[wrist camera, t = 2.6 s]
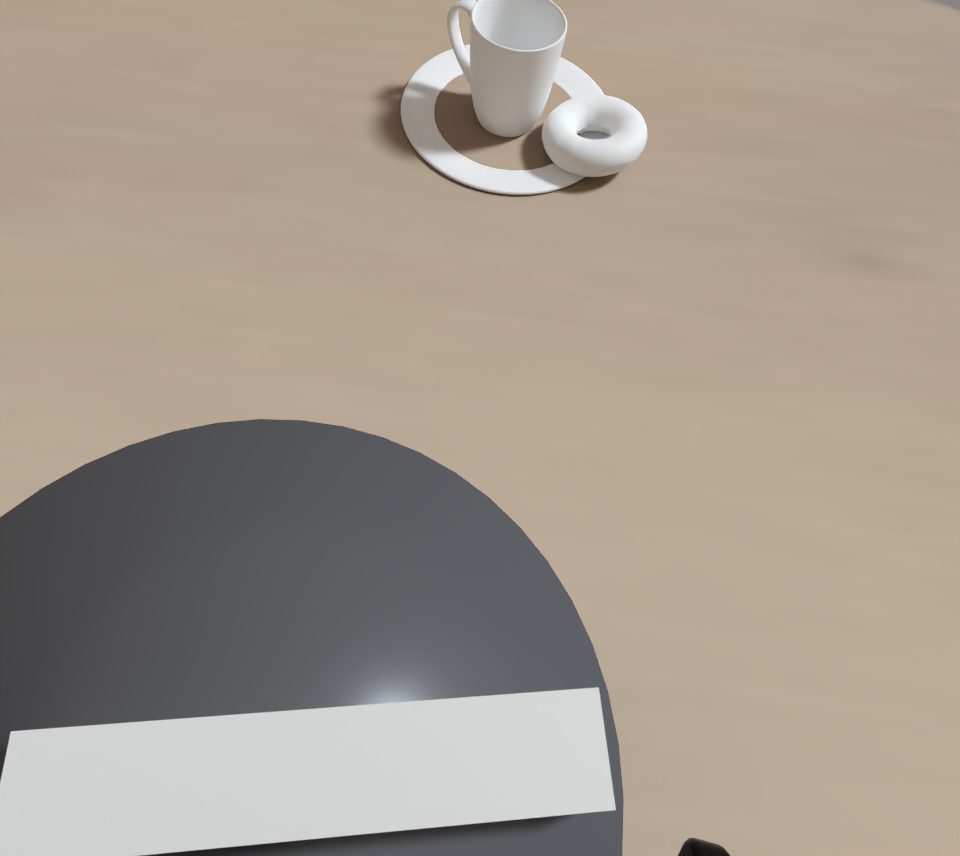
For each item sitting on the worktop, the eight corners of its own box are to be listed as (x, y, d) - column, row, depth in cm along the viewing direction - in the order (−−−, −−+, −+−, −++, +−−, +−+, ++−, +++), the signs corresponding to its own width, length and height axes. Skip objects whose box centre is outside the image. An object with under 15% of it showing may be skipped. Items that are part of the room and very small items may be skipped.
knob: (230, 909, 14) (-645, 1698, 2) (250, 630, 16) (-149, 379, 5) (497, 881, 14) (784, 1413, 3) (478, 616, 17) (601, 361, 5)
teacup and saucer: (666, 170, 24) (709, 70, 21) (489, 253, 22) (502, 156, 18) (532, 32, 27) (549, -78, 24) (361, 92, 25) (352, -19, 21)
